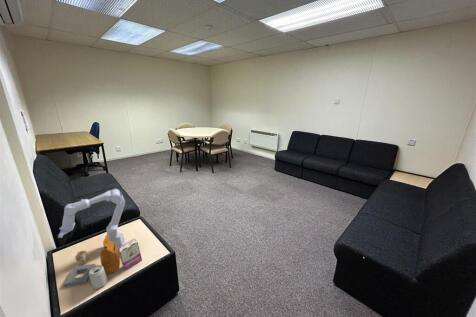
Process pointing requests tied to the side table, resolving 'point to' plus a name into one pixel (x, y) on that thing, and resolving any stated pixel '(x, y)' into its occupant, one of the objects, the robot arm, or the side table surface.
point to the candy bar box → (129, 254)
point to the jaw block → (81, 257)
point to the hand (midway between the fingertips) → (65, 240)
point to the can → (98, 276)
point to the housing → (80, 280)
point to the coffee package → (110, 256)
